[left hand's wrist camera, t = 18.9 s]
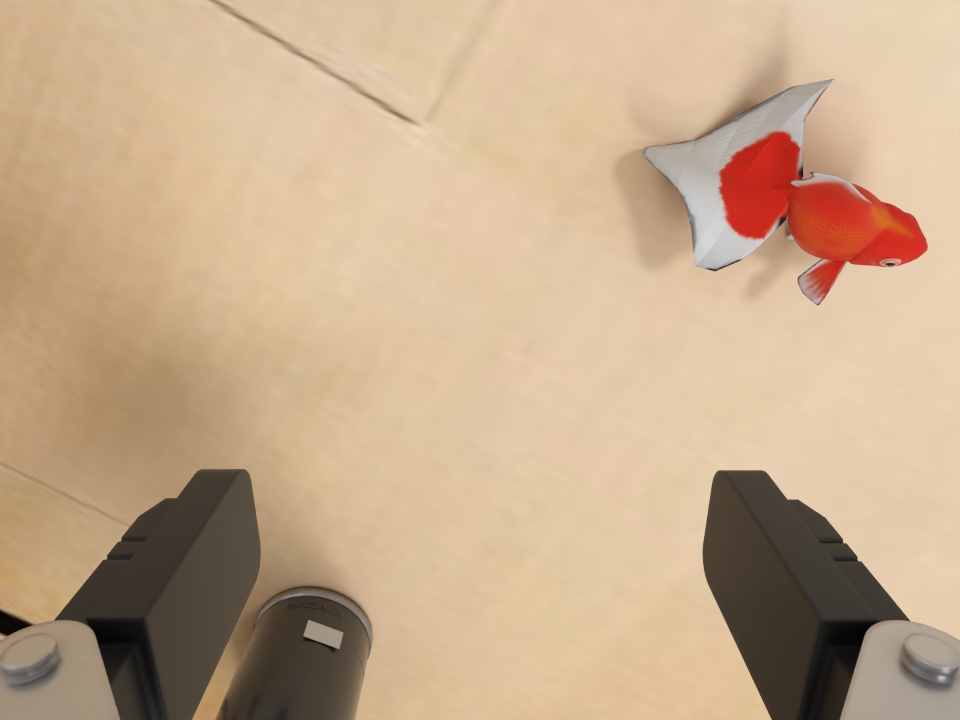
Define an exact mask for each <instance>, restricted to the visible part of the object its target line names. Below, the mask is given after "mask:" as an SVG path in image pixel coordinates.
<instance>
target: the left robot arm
mask: <svg viewBox="0 0 960 720" xmlns="http://www.w3.org/2000/svg"><path fill="white" fill-rule="evenodd" d="M260 557H261V548H260V539H259V532H258V525H257V518H256V511H255V504H254V498H253V491H252V484H251V479H250V476H249V473H248V472H247V471H246V470H244V469H201V470H199V471H197V473H196V474H195V475H194V476H193V478H192V479H191V480H190V482H189V483H188V484H187V486H186V487H185V488H184V489H183V491H182V492H181V493H180V495H179V496H178V497H177V498H166V499H164V500H163V501H161V502H160V503H158V504H157V505H155V506H154V507H152V508H151V509H149V510H148V511H146V512H145V513H143V514H142V515H140V516H139V517H138V518H137V519H136V521H135V522H134V523H133V524H132V526H131V527H130V528H129V529H128V530H127V532H126V533H125V534H124V535H123V537H122V541H121V542H118V543H117V544H116V545H115V546H114V548H113V549H112V550H111V551H110V553H109V554H108V555H107V560H103V561H102V562H101V564H100V565H99V566H98V567H97V568H96V570H95V571H94V572H93V573H92V575H91V576H90V577H89V578H88V579H87V581H86V582H85V583H84V584H83V586H82V587H81V588H80V589H79V591H78V592H77V593H76V594H75V595H74V597H73V598H72V599H71V600H70V602H69V603H68V604H67V605H66V606H65V608H64V609H63V610H62V611H61V613H60V614H59V615H58V616H57V618H56V619H55V620H54V621H49V622H44V623H40V624H36V625H33V626H30V627H27V628H25V629H22V630H20V631H18V632H15V633H13V634H11V635H9V636H8V637H6V638H4V639H2V640H1V641H0V720H192V718H193V716H194V714H195V712H196V709H197V707H198V705H199V703H200V701H201V699H202V696H203V694H204V692H205V690H206V688H207V686H208V684H209V681H210V679H211V677H212V675H213V673H214V671H215V668H216V666H217V664H218V662H219V660H220V658H221V655H222V653H223V651H224V649H225V647H226V645H227V643H228V640H229V638H230V636H231V634H232V632H233V630H234V627H235V625H236V623H237V621H238V619H239V617H240V615H241V612H242V610H243V608H244V606H245V604H246V602H247V599H248V597H249V595H250V593H251V591H252V589H253V586H254V584H255V582H256V579H257V576H258V572H259V566H260ZM703 565H704V571H705V576H706V579H707V582H708V585H709V587H710V589H711V591H712V593H713V595H714V598H715V600H716V602H717V604H718V606H719V608H720V610H721V612H722V615H723V617H724V619H725V621H726V623H727V625H728V627H729V630H730V632H731V634H732V636H733V638H734V640H735V642H736V644H737V647H738V649H739V651H740V653H741V655H742V657H743V659H744V662H745V664H746V666H747V668H748V670H749V672H750V674H751V676H752V679H753V681H754V683H755V685H756V687H757V689H758V691H759V693H760V696H761V698H762V700H763V702H764V704H765V706H766V708H767V711H768V713H769V715H770V717H771V719H772V720H960V641H959V640H958V639H956V638H954V637H952V636H951V635H949V634H947V633H945V632H942V631H940V630H938V629H935V628H933V627H930V626H927V625H924V624H920V623H916V622H911V621H910V620H909V619H908V618H907V617H906V615H905V614H904V613H903V612H902V610H901V609H900V608H899V607H898V606H897V604H896V603H895V602H894V601H893V599H892V598H891V597H890V596H889V595H888V593H887V592H886V591H885V590H884V589H883V587H882V586H881V585H880V584H879V582H878V581H877V580H876V579H875V578H874V576H873V575H872V574H871V573H870V572H869V570H868V569H867V568H866V567H865V565H864V564H863V563H862V562H861V561H858V560H857V556H856V554H855V553H854V552H853V551H852V550H851V548H850V547H849V546H848V545H847V544H846V543H843V539H842V537H841V536H840V535H839V534H838V533H837V531H836V530H835V529H834V528H833V527H832V525H831V524H830V523H829V522H828V520H827V519H826V518H825V517H823V516H822V515H820V514H819V513H817V512H816V511H814V510H813V509H811V508H810V507H808V506H807V505H805V504H804V503H802V502H801V501H799V500H787V498H786V497H785V496H784V495H783V493H782V492H781V491H780V489H779V488H778V487H777V485H776V484H775V483H774V481H773V480H772V479H771V478H770V476H769V475H768V474H767V473H766V472H765V471H762V470H720V471H718V472H716V474H715V476H714V478H713V482H712V488H711V495H710V502H709V509H708V515H707V522H706V529H705V536H704V542H703ZM371 645H372V629H371V625H370V623H369V620H368V618H367V617H366V615H365V614H364V612H363V611H362V610H361V609H360V608H359V607H358V606H357V605H356V604H355V603H354V602H352V601H351V600H350V599H348V598H346V597H345V596H343V595H341V594H338V593H336V592H333V591H330V590H326V589H321V588H297V589H292V590H289V591H286V592H283V593H281V594H279V595H277V596H275V597H274V598H272V599H271V600H270V601H269V602H268V603H267V604H266V605H265V606H264V607H263V608H262V610H261V611H260V613H259V616H258V618H257V620H256V623H255V625H254V629H253V633H252V635H251V638H250V640H249V642H248V645H247V647H246V649H245V651H244V653H243V656H242V658H241V660H240V663H239V665H238V667H237V670H236V672H235V675H234V677H233V679H232V682H231V684H230V686H229V689H228V691H227V693H226V696H225V698H224V700H223V703H222V705H221V707H220V710H219V712H218V714H217V717H216V719H215V720H355V718H356V713H357V708H358V703H359V698H360V693H361V688H362V683H363V679H364V674H365V669H366V663H367V660H368V657H369V655H370V650H371Z"/></svg>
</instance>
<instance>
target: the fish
mask: <svg viewBox="0 0 960 720" xmlns="http://www.w3.org/2000/svg"><path fill="white" fill-rule="evenodd" d="M833 80H834V79H831V80H826V81H820V82H815V83H810V84H805V85H800V86H794V87H791V88H789V89H787V90H785V91H783V92H781V93H779V94H777V95H775V96H773V97H771V98H769V99H768V100H766V101H764V102H762V103H760V104H758V105H756V106H754V107H752V108H750V109H748V110H747V111H745V112H743V113H742V114H740V115H738V116H737V117H735V118H734V119H732V120H730V121H729V122H727V123H725V124H724V125H722V126H721V127H719V128H717V129H715V130H713V131H712V132H710V133H708V134H706V135H704V136H702V137H701V138H699V139H697V140H694V141H688V142H681V143H675V144H669V145H663V146H649V147H646V148H645V149H644V151H643V153H642V154H643V155H644V156H645V158H646V159H647V160H648V161H649V162H651V163H652V164H653V165H654V166H655V167H656V168H657V169H658V170H659V171H660V172H661V173H662V174H663V175H664V176H665V177H666V178H667V179H668V180H669V181H670V182H671V183H672V184H673V185H674V186H675V187H676V188H677V190H678V192H679V194H680V196H681V198H682V200H683V202H684V204H685V205H686V209H687V213H688V216H689V220H690V224H691V228H692V239H693V251H694V259H695V266H697V267H701V268H704V269H708V270H712V271H717V270H719V269H722V268H724V267H726V266H729V265H731V264H733V263H736V262H738V261H740V260H741V259H743V258H744V257H746V256H747V255H748V254H750V253H751V252H753V251H754V250H755V249H756V248H757V247H758V246H760V245H761V244H762V243H763V242H764V241H765V240H766V239H767V238H768V237H769V236H770V235H771V234H772V233H773V232H774V231H775V230H776V229H777V228H778V227H779V226H780V225H781V224H782V223H783V222H784V221H785V220H786V217H787V214H788V220H789V227H790V231H791V234H790V235H789V236H788V237H787V239H788V240H795V241H796V242H797V244H798V245H799V246H800V247H801V248H802V249H803V250H804V251H805V252H807V253H809V254H811V255H814V256H816V257H819V258H822V259H821V260H820V261H818V262H817V263H816V264H814V265H813V266H812V267H811V268H809V269H808V270H807V271H805V272H804V273H803V274H801V275H800V276H799V277H798V284H799V286H800V288H801V290H802V292H803V294H805V295H806V296H807V297H808V298H809V299H810V300H811V301H812V302H814V303H815V304H817V305H819V304H820V303H821V302H822V301H823V299H824V298H825V297H826V295H827V294H828V292H829V290H830V289H831V287H832V286H833V284H834V282H835V280H836V279H837V277H838V275H839V273H840V272H841V270H842V269H843V267H844V265H845V264H846V262H847V261H849V262H850V263H851V264H855V265H871V266H882V267H893V266H899V265H902V264H905V263H908V262H910V261H912V260H915V259H917V258H918V257H920V256H921V255H922V254H923V253H925V252H926V251H927V248H928V245H927V242H926V239H925V237H924V235H923V233H922V231H921V229H920V227H919V225H918V223H917V221H916V219H915V217H914V216H913V215H911V214H909V213H905V212H903V211H902V210H900V209H899V208H897V207H896V206H894V205H891V204H888V203H884V202H881V201H880V200H879V199H878V198H876V197H875V196H874V195H873V194H872V193H870V192H869V191H867V190H866V189H864V188H862V187H860V186H857V185H855V184H852V183H850V182H849V181H847V180H844V179H842V178H839V177H836V176H832V175H827V174H821V173H815V172H810V173H811V174H812V177H811V178H809V179H802V177H803V162H802V144H803V138H804V127H805V118H806V116H807V115H808V113H809V112H810V110H811V109H812V107H813V106H814V105H815V103H816V102H817V100H818V99H819V97H820V96H821V95H822V93H823V92H824V91H825V89H826V88H827V87H828V86H829V85H830V84H831V83H832V81H833ZM801 179H802V180H801Z"/></svg>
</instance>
